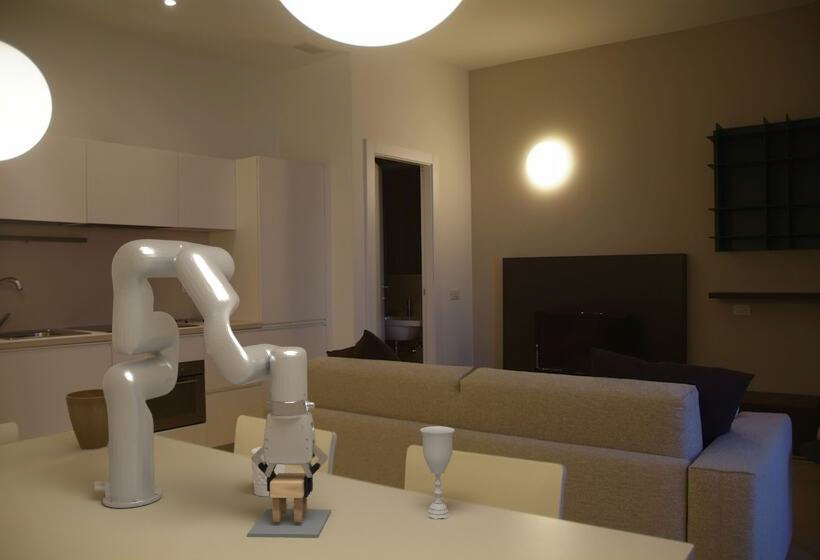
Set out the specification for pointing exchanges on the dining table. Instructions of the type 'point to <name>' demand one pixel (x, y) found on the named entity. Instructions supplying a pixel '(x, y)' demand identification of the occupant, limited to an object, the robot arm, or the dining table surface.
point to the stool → (288, 495)
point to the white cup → (262, 476)
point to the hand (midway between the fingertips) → (290, 494)
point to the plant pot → (89, 417)
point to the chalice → (437, 462)
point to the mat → (290, 524)
